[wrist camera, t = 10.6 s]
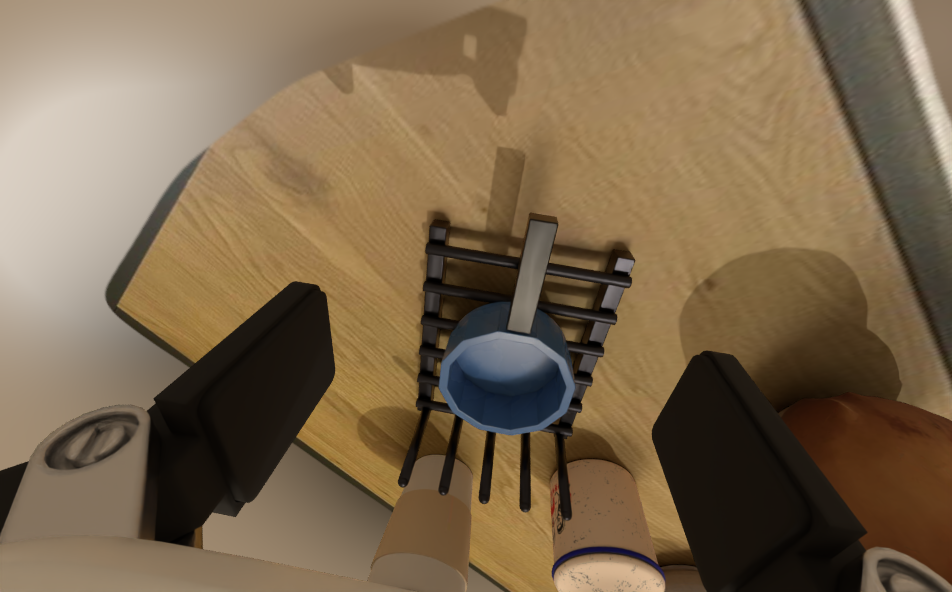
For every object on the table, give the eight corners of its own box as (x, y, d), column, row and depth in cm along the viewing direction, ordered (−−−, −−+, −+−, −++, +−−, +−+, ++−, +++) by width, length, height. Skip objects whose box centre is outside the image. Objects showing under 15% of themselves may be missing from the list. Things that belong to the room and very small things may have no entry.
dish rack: (434, 218, 26) (390, 275, 17) (630, 251, 25) (680, 326, 17) (421, 398, 35) (388, 491, 26) (565, 426, 34) (577, 530, 26)
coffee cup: (390, 451, 39) (321, 628, 26) (468, 443, 37) (435, 632, 24) (420, 501, 43) (373, 677, 30) (492, 496, 41) (475, 685, 28)
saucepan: (469, 188, 22) (457, 206, 18) (615, 212, 22) (633, 235, 18) (445, 383, 30) (434, 423, 26) (551, 404, 30) (555, 446, 26)
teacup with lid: (546, 453, 36) (554, 592, 26) (642, 457, 35) (690, 606, 24) (547, 522, 42) (554, 658, 32) (630, 527, 40) (664, 672, 30)
